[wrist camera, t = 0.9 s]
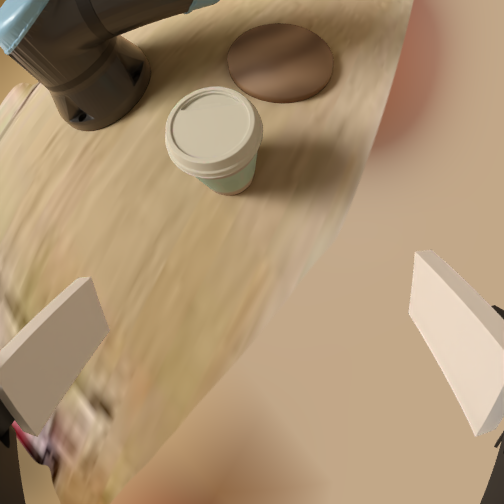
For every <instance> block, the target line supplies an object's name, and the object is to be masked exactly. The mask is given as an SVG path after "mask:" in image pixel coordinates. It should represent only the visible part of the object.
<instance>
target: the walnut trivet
mask: <svg viewBox="0 0 504 504" xmlns="http://www.w3.org/2000/svg"><path fill="white" fill-rule="evenodd" d="M227 62H228V67H229V71H230V75H231V77H232V79H233V81H234V83H235V84H236V85H237V86H238V87H239V88H240V89H241V90H242V91H244V92H245V93H247V94H248V95H250V96H252V97H254V98H257V99H260V100H263V101H267V102H273V103H292V102H298V101H302V100H305V99H308V98H310V97H312V96H314V95H316V94H317V93H319V92H320V91H321V90H322V89H323V88H324V87H325V86H326V85H327V83H328V82H329V80H330V77H331V74H332V70H333V63H334V62H333V55H332V52H331V50H330V48H329V47H328V45H327V44H326V43H325V41H324V40H323V39H321V38H320V37H319V36H318V35H316V34H315V33H313V32H311V31H310V30H307V29H305V28H302V27H299V26H296V25H291V24H279V23H278V24H267V25H262V26H258V27H255V28H253V29H250V30H248V31H247V32H245V33H243V34H242V35H241V36H239V37H238V38H237V39H236V40H235V41H234V43H233V44H232V45H231V47H230V49H229V52H228V57H227Z"/></svg>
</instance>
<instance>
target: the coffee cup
mask: <svg viewBox="0 0 504 504" xmlns="http://www.w3.org/2000/svg"><path fill="white" fill-rule="evenodd" d="M262 137H263V124H262V120H261V117H260V115H259V113H258V111H257V109H256V108H255V106H254V105H253V104H252V103H251V102H250V101H249V100H248V99H246V98H245V97H244V96H243V95H242V94H240V93H239V92H237V91H235V90H233V89H230V88H226V87H206V88H202V89H199V90H196V91H194V92H192V93H190V94H188V95H186V96H185V97H184V98H182V99H181V100H180V101H179V102H178V103H177V104H176V105H175V106H174V108H173V109H172V111H171V113H170V115H169V117H168V120H167V123H166V132H165V143H166V147H167V150H168V153H169V156H170V158H171V159H172V161H173V162H174V164H175V165H176V166H177V167H178V168H180V169H181V170H182V171H184V172H185V173H187V174H190V175H192V176H195V177H196V178H198V179H199V180H200V181H201V182H203V183H204V184H205V185H207V186H208V187H209V188H211V189H212V190H213V191H215V192H216V193H218V194H221V195H235V194H238V193H240V192H242V191H244V190H245V189H246V188H247V187H248V186H249V185H250V184H251V182H252V180H253V177H254V172H255V166H256V158H257V151H258V149H259V147H260V144H261V141H262Z"/></svg>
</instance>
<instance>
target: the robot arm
mask: <svg viewBox="0 0 504 504" xmlns="http://www.w3.org/2000/svg"><path fill="white" fill-rule="evenodd" d="M218 1H219V0H6V1H5V3H4V4H3V5H2V7H1V8H0V47H1V48H2V49H3V50H4V52H5V54H7V55H9V56H10V57H11V58H12V59H14V60H15V61H16V62H17V63H18V64H19V65H21V66H22V67H23V68H24V69H26V71H28V72H29V73H30V74H31V75H32V76H33V77H35V78H36V79H37V80H38V81H39V82H40V83H41V84H43V85H44V86H45V87H46V88H47V89H48V90H49V91H50V93H51V95H52V98H53V100H54V102H55V104H56V107H57V109H58V111H59V113H60V115H61V117H62V118H63V119H64V120H65V121H66V122H67V123H69V124H70V125H71V126H72V127H74V128H76V129H78V130H82V131H92V130H97V129H101V128H103V127H106V126H108V125H110V124H112V123H114V122H115V121H117V120H118V119H120V118H121V117H123V116H124V115H125V114H126V113H128V112H129V111H130V110H131V109H132V108H133V107H134V106H135V105H136V103H137V102H138V101H139V100H140V98H141V97H142V95H143V94H144V92H145V90H146V88H147V86H148V83H149V80H150V74H151V69H150V64H149V62H148V60H147V58H146V56H145V55H144V53H143V51H142V50H141V49H140V48H139V47H137V46H136V45H134V44H133V43H131V42H130V41H128V40H127V39H125V38H124V37H122V36H121V34H123V33H126V32H128V31H131V30H133V29H136V28H139V27H142V26H144V25H147V24H150V23H153V22H156V21H159V20H162V19H165V18H168V17H171V16H175V15H178V14H182V13H183V14H188V13H190V12H192V11H193V10H196V9H199V8H203V7H206V6H210V5H213V4H215V3H217V2H218ZM408 314H409V315H410V317H411V318H412V320H413V322H414V323H415V325H416V326H417V328H418V330H419V331H420V333H421V335H422V337H423V338H424V340H425V342H426V343H427V345H428V347H429V348H430V350H431V352H432V354H433V356H434V357H435V359H436V361H437V363H438V364H439V366H440V368H441V370H442V372H443V373H444V375H445V377H446V379H447V381H448V383H449V384H450V386H451V388H452V390H453V392H454V394H455V396H456V398H457V400H458V402H459V404H460V406H461V408H462V410H463V412H464V414H465V416H466V418H467V420H468V422H469V424H470V426H471V428H472V431H473V433H474V435H475V437H476V436H479V435H481V434H484V433H487V432H490V431H492V430H494V429H496V428H497V426H498V424H499V423H500V421H501V420H502V418H503V416H504V310H502V309H500V308H499V307H497V306H495V305H494V306H490V305H489V304H488V303H487V302H486V301H485V300H484V298H483V297H481V296H480V294H479V293H478V292H477V291H476V290H474V288H472V287H471V286H470V285H469V284H468V283H467V282H466V281H465V280H464V279H463V278H462V277H461V276H460V275H459V274H458V273H457V272H456V271H455V270H453V268H452V267H451V266H449V265H448V264H447V263H446V262H445V261H444V260H443V259H442V258H441V257H440V256H438V255H437V254H436V253H435V252H434V251H433V250H425V251H415V259H414V271H413V281H412V290H411V297H410V306H409V313H408ZM109 331H110V329H109V327H108V324H107V322H106V319H105V316H104V313H103V311H102V308H101V305H100V302H99V299H98V296H97V293H96V290H95V287H94V284H93V281H92V278H91V277H81V278H77V279H76V280H75V281H74V282H72V283H71V284H70V285H69V286H68V287H67V288H66V289H65V290H63V291H62V292H61V293H60V294H59V295H58V296H57V297H56V298H55V299H53V300H52V301H51V302H50V303H49V304H48V305H47V306H46V307H45V308H44V309H43V310H41V311H40V312H39V313H38V314H37V315H36V316H35V317H34V318H33V319H32V320H31V321H30V322H29V323H28V324H27V325H26V326H25V327H24V328H23V329H22V330H21V331H20V332H19V333H18V334H17V335H16V336H15V337H14V338H12V340H11V341H10V342H9V343H8V344H7V345H6V346H5V347H4V348H3V349H2V350H1V351H0V504H25V499H24V494H23V488H22V482H21V476H20V469H19V460H18V451H17V440H16V432H15V429H14V428H13V427H12V425H11V424H12V423H13V421H14V420H15V421H16V422H17V424H18V425H19V426H20V428H21V429H22V430H23V431H24V432H26V433H29V434H31V435H34V436H37V437H38V435H39V434H40V432H41V431H42V429H43V427H44V426H45V424H46V423H47V421H48V420H49V418H50V416H51V415H52V413H53V412H54V410H55V409H56V407H57V406H58V404H59V403H60V401H61V400H62V398H63V397H64V395H65V394H66V392H67V391H68V389H69V388H70V386H71V385H72V383H73V382H74V380H75V379H76V378H77V376H78V375H79V373H80V372H81V370H82V369H83V367H84V366H85V365H86V363H87V362H88V360H89V359H90V358H91V356H92V355H93V353H94V352H95V351H96V349H97V348H98V346H99V345H100V344H101V342H102V341H103V339H104V338H105V337H106V335H107V334H108V333H109ZM501 441H502V442H501ZM500 442H501V446H500V449H499V452H498V456H497V459H496V462H495V465H494V468H493V471H492V474H491V477H490V480H489V482H488V485H487V488H486V491H485V493H484V496H483V498H482V500H481V503H480V504H504V431H503V433H502V434H501V436H500V437H499V439H498V440H497V442H496V444H495V446H494V447H496V448H497V447H498V445H499V444H500Z"/></svg>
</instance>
